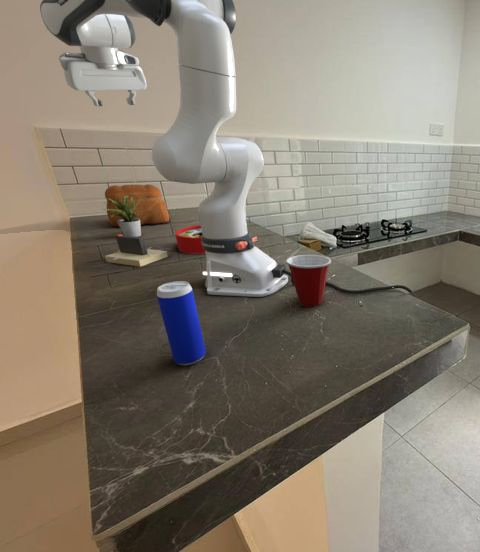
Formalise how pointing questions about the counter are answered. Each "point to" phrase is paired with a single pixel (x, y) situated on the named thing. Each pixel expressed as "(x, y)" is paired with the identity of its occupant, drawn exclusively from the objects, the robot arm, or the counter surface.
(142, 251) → the dark grey flat block
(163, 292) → the beverage can
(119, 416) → the counter surface
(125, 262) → the panel
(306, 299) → the plastic cup
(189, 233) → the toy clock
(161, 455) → the counter surface
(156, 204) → the bread
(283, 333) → the counter surface
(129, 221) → the house plant
